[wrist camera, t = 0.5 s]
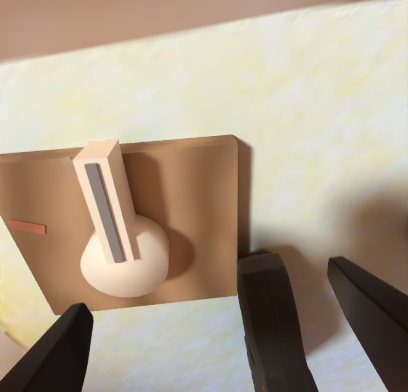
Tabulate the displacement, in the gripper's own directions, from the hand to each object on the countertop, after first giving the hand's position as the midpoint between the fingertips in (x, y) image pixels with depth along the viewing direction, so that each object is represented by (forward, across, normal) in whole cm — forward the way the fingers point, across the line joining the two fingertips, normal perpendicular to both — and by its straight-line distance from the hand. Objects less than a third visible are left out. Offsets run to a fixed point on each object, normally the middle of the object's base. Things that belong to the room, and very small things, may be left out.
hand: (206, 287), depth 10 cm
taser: (+12, -3, +19) cm, 23 cm away
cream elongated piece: (+10, +6, +2) cm, 12 cm away
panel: (+12, +6, +5) cm, 14 cm away
